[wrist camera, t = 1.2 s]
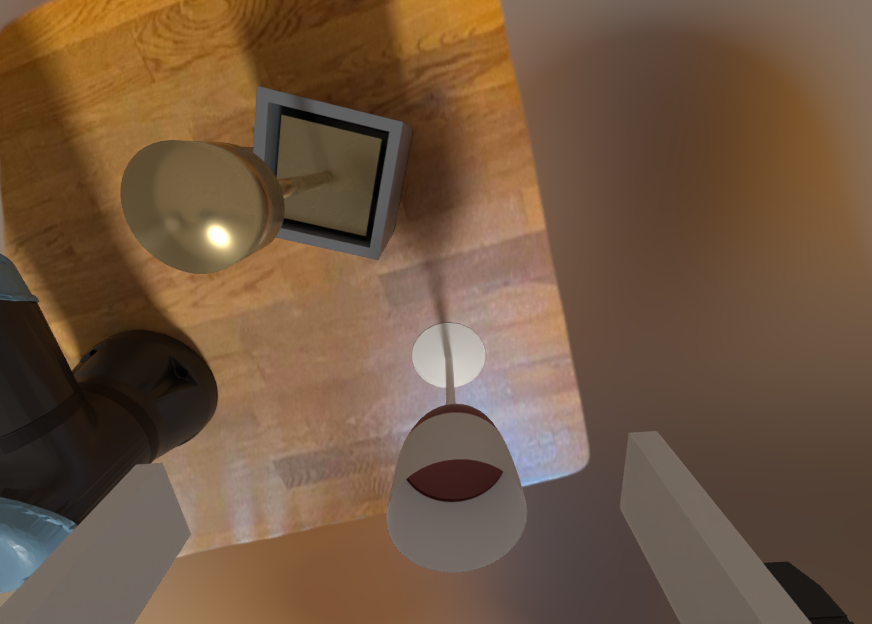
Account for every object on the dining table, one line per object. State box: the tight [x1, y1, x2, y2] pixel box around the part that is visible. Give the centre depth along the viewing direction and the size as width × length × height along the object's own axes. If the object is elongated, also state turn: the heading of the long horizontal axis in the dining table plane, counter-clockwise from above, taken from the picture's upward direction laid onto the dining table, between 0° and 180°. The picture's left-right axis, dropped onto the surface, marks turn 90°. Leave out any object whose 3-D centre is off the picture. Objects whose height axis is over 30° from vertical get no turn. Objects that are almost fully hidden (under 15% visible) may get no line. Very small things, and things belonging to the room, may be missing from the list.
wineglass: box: [387, 323, 527, 572], centre depth 38 cm, size 9×10×23 cm
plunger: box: [121, 115, 383, 274], centre depth 23 cm, size 7×7×19 cm
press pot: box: [243, 86, 413, 260], centre depth 35 cm, size 12×10×12 cm
